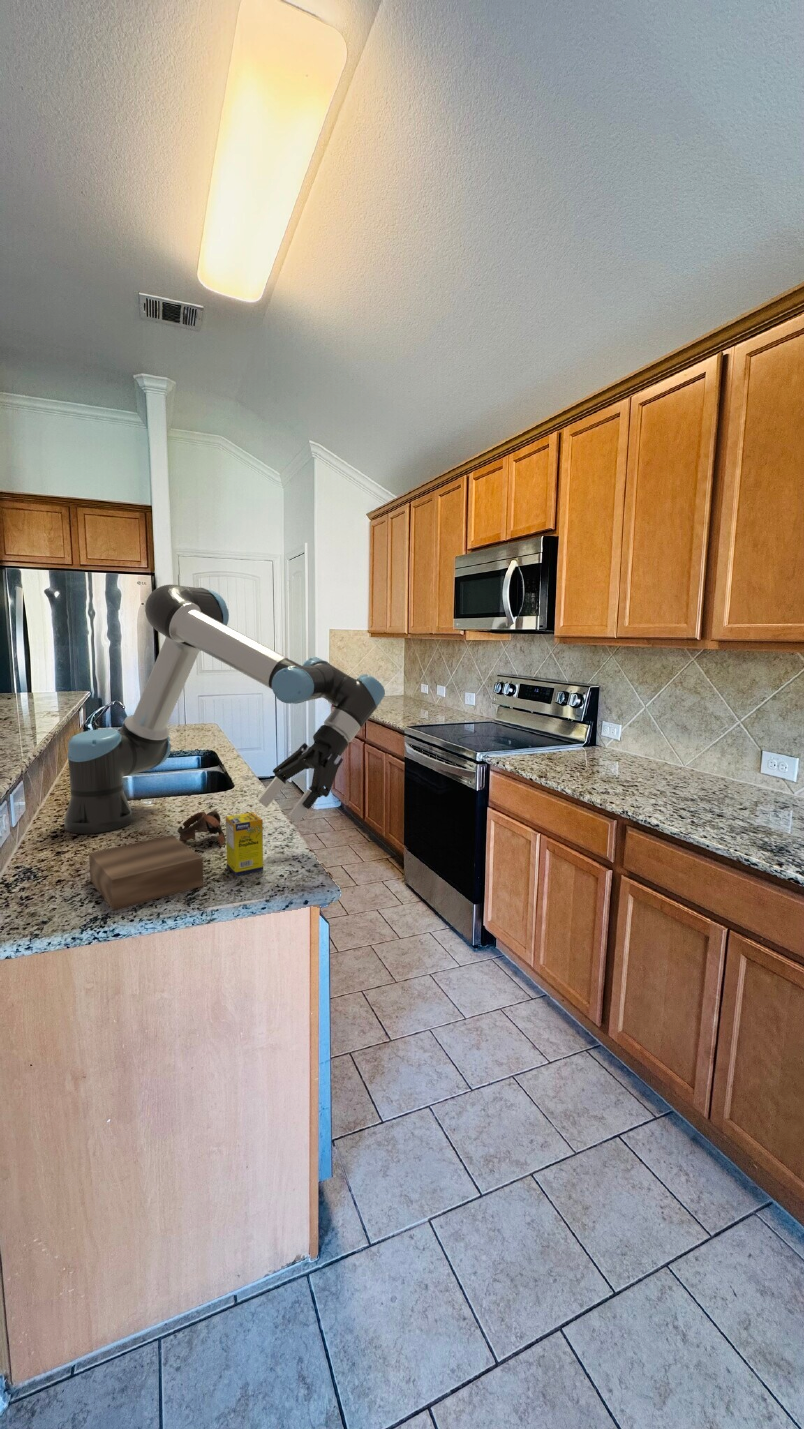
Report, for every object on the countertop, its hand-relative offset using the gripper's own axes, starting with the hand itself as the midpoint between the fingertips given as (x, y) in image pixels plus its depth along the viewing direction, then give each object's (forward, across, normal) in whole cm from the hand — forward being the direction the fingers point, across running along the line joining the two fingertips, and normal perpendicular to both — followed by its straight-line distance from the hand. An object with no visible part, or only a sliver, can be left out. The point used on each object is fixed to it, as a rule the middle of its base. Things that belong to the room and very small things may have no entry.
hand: (276, 811), depth 121 cm
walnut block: (+26, +6, +10) cm, 28 cm away
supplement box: (+13, +1, -3) cm, 13 cm away
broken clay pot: (+13, +21, -3) cm, 25 cm away
